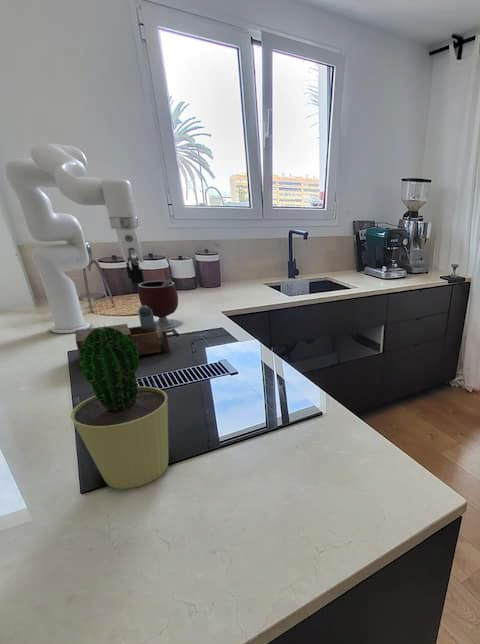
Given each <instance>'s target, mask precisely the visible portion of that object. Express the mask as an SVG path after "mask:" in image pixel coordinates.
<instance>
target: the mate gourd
mask: <svg viewBox="0 0 480 644" xmlns="http://www.w3.org/2000/svg"><path fill="white" fill-rule="evenodd" d="M173 280H174V279H173V278H169V279H166V280H150V281H144V283H138V298H139V302H140V305H141V306H144V305H145V306H148V307H149V308H150V309H151V310H152V313H153V317H157V318H158V320H154V323H155V328H156V331H158V328H157V323H161V324H162V326H163V327H164V329H165V330H171V329H173V328H174V329H175V328H177V327H179V326H180V325H181V322H180V321H179V320H178V319H173V318H172V319H168V318H167V317H168V316H170V315H173V314H174V313H175V312H176V310H177V308H178V306H179V296H178V291H177V287H176V285H175V282H173Z"/></svg>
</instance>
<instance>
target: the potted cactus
mask: <svg viewBox="0 0 480 644" xmlns="http://www.w3.org/2000/svg"><path fill="white" fill-rule="evenodd" d="M103 325H104V326H103V327H104V329H103V328H101V329H99V328H98V327H100V326H99V325H97V327H96V328H97V329H94V330H93V331H92V332H90V330H88V331H89V334H88V336H87V337H86V339H85V343H83V345H82V348H81V351H80V353H79V350H78V348H76V350H77V351H78V355H79V354H80V355H79V359H78V358H77V359H76V360H77V361H78V362H79V365H80V368H81V375H80V376H79V377H82V376H83V377H84V380H83V383H84V382H86V383H88V384H87V388H88V387H89V389H88V390H90V389H92V391H90V392H89V393H88V394H94V395H92V396H91V397H89V398H86V399H85V400H83V401H81V402H80V403H78V404H77V405H76V406H75V407H74V408H73V409H72V411H71V412H70V419H71V421H72V422H73V425H74V427H75V429H76V430H77V432H78V434H79V436H80V438H81V440H82V441H83V443H84V445H85V447H86V449H87V451H88V453H89V455H90V456H91V458H92V460H93V462H94V464H95V466H96V468H97V469H98V471H99V473H100V475H101V477H102V479H103V481H104V483H106V484H107V486H109V487H111V488H113V489H119V490H124V489H125V490H126V489H133V488H138V487H141V486H144V485H147V484H150V483H152V482H153V481H155V480H157V479H158V478H159V477H161V476H162V475H163V474H164V473H165V472H166V470H167V469H168V466H169V460H170V459H169V457H170V455H169V409H168V407H169V405H168V403H169V402H168V394H167V393H166V392H165V391H164V390H162V389H160V388H158V387H153V386H145V385H144V386H143V385H142V386H141V385H140V386H139V383H138V381H139V380H140V378H138V379H137V374H138V373H141V372H140V371H139V370H137V369H139V367H140V366H141V365H142V364H143V365H144V362H142V361H140V360H139V358H140V357H142V355H138V353H139V352H138V353H137V351H138V350H137V347H136V345H135V344H134V343H133V340H132V338H131V340H132V341H131V340H130V339H129V338H128V337H129V336H127V335H128V334H129V333H128V334H127V335H126V334H125V335H126V336H125V335H124V334H123V332H121V331H119V330H118V329H120V328H118V329H114V328H110V327H109V328H107V327H106V324H103ZM120 327H121V326H120ZM125 332H126V331H125ZM125 332H124V333H125ZM81 340H82V339H81ZM76 342H77V341H76V340H75V343H76ZM80 342H81V341H80ZM82 342H84V341H83V340H82ZM82 342H81V343H82ZM136 342H137V341H136ZM137 343H138V342H137ZM137 343H136V344H137ZM79 344H80V343H79ZM140 344H141V343H140ZM80 345H81V344H80ZM137 345H138V344H137ZM137 371H138V372H137ZM85 380H86V381H85ZM87 388H86V389H87Z"/></svg>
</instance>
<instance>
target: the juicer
mask: <svg viewBox="0 0 480 644" xmlns="http://www.w3.org/2000/svg"><path fill="white" fill-rule="evenodd" d="M85 244H86V248H87V252H88V256H89V264H88V266H87V267H86V268H83V269H82V273H83V274H82V275H83V281H84V287H85V288H84V289H85V292H86V297H87V302H88V306H89V309H90V312H91V313H93V312H94V310H93V305H92V300H91V295H90V289H89V283H88V276H87V270H88V271H89V272H91V269H92V265H95V267H96V269H97V270H98V273H99V275H100V276H101V278H102V281H103V283H104V285H105V288H106V290H107V293H108V296H109V299H110V303H111V305H112V304H114V305H112V308H115V302H114V299H113V296H112V293H111V289H110V287H109V284H108V281H107V279H106V277H105V275H104V272H103V270H102V268H101V266H100V263H98V260H97V259H96V258H95V257H94V258H93V255H92V253H93V252H92V248H91V245H90V243H89V242H87V241H85Z"/></svg>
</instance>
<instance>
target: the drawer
mask: <svg viewBox="0 0 480 644" xmlns="http://www.w3.org/2000/svg"><path fill="white" fill-rule="evenodd" d="M128 328H129V330H130V332H131V335H132V340H133V343H134V344H135V345H136V347H137V350H138V351H137V353H138V352H139V353H138V356H140V355H141V356H142V355H146V354H147V355H149V354H154V353H160V352H162V348H163V350H164V351H165V352H166V353H170V352H171V349H170V344H169V339H168V338H171V337H175V338H179V336H180V333H179V332H178V330H177V329H176V328H175V327H174V328H171V329H164V327H163V326H162V324H161V323H157V328H158V330H157V331H156V332H152V333H145V334H143V333H142V328H141V325H139V326H138V325H137V326H132V327H128ZM168 333H171V334H168ZM159 340H160V342H161V343H162V348H161V347H160V342H159ZM136 341H137V342H138V343H137V342H136ZM136 343H137V344H138V345H137V344H136ZM140 343H141V344H140Z"/></svg>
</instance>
